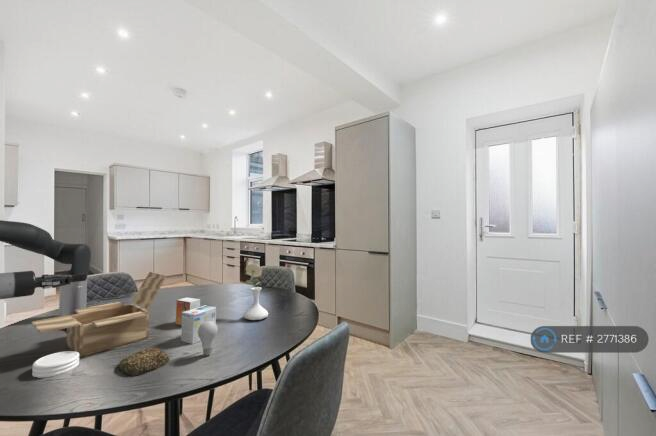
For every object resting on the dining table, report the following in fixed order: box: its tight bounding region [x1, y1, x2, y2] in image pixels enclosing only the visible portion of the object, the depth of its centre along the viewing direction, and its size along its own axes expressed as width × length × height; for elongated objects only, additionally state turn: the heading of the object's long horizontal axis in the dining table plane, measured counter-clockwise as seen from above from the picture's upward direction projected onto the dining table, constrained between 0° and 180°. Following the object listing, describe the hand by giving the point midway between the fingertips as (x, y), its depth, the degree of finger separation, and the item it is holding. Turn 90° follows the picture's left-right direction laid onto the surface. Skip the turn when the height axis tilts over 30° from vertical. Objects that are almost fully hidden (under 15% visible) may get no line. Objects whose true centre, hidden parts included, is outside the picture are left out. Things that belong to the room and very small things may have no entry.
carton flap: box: [131, 271, 168, 310], centre depth 114 cm, size 14×1×13 cm
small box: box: [175, 296, 201, 326], centre depth 123 cm, size 8×6×10 cm
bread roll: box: [118, 347, 171, 377], centre depth 87 cm, size 13×12×5 cm
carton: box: [31, 301, 150, 359], centre depth 100 cm, size 26×29×11 cm
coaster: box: [31, 350, 80, 379], centre depth 84 cm, size 10×10×4 cm
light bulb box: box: [180, 304, 217, 345], centre depth 108 cm, size 11×7×11 cm, turn 154°
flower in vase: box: [242, 263, 269, 321], centre depth 132 cm, size 13×11×25 cm
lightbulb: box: [198, 321, 219, 356], centre depth 94 cm, size 6×6×11 cm
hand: (85, 277), depth 98 cm, fingers closed
